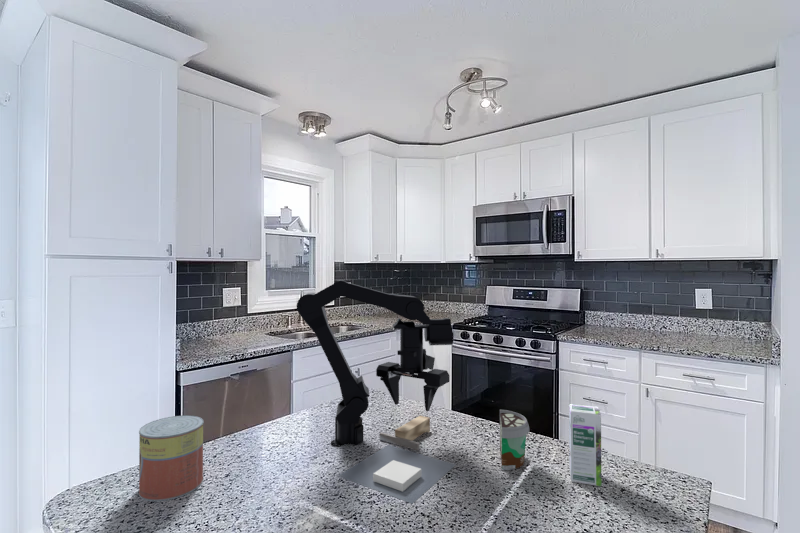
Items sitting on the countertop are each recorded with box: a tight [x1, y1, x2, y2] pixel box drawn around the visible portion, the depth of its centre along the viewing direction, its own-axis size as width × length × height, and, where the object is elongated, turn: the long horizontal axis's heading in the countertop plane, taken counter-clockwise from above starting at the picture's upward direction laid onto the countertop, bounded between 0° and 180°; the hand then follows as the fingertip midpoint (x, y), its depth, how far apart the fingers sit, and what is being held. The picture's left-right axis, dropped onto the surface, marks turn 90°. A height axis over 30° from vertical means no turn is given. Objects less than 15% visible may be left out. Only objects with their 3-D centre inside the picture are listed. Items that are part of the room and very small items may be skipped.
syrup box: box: [568, 403, 603, 488], centre depth 85 cm, size 6×6×14 cm
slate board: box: [337, 444, 457, 505], centre depth 87 cm, size 18×18×1 cm
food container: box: [499, 409, 530, 471], centre depth 91 cm, size 12×6×10 cm, turn 168°
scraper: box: [379, 415, 431, 451], centre depth 105 cm, size 13×11×4 cm
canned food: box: [138, 414, 205, 502], centre depth 82 cm, size 11×11×12 cm
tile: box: [373, 460, 421, 492], centre depth 83 cm, size 7×2×7 cm
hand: (411, 407), depth 104 cm, fingers open, 9 cm apart
